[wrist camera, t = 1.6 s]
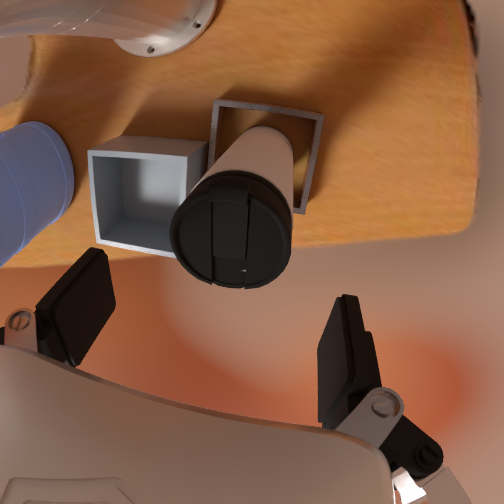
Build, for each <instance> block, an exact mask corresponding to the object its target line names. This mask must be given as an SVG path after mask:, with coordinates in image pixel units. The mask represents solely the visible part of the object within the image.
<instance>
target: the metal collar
mask: <svg viewBox="0 0 504 504" xmlns="http://www.w3.org/2000/svg"><path fill="white" fill-rule="evenodd" d="M224 106H226V107H235V108H244V109H252V110H260V111H267V112H273V113H280V114H286V115H292V116H298V117H303V118H308V119H314V120H315V122H314V128H313V133H312V139H311V144H310V149H309V155H308V160H307V165H306V170H305V175H304V181H303V186H302V191H301V196H300V200H298V199H293V213H297V214H303V215H305V211H306V206H307V201H308V197H309V192H310V187H311V182H312V178H313V173H314V168H315V163H316V158H317V153H318V148H319V143H320V137H321V132H322V127H323V122H324V116H325V115H324V114H323V113H319V112H314V111H309V110H304V109H298V108H293V107H287V106H281V105H274V104H267V103H260V102H252V101H244V100H235V99H225V98H218V99H214V101H213V111H212V121H211V132H210V144H209V156H208V169H207V172H208V171H209V169H210V168H211V167H212V166H213V165H214V164H215V163H216V162H217V160H218V159H219V153H220V143H221V133H222V123H223V113H224Z"/></svg>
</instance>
